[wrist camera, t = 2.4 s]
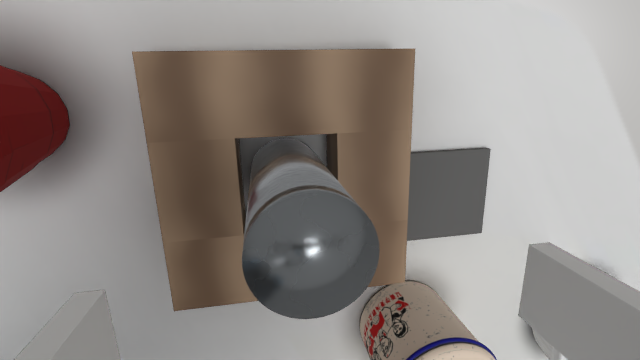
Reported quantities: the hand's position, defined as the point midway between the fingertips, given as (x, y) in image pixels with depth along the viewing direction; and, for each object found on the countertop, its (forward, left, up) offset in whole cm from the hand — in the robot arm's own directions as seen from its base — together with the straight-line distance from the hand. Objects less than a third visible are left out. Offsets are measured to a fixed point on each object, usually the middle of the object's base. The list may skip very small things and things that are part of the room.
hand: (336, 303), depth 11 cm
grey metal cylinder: (0, 0, -18) cm, 18 cm away
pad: (+14, -3, -18) cm, 23 cm away
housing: (0, 0, -18) cm, 18 cm away
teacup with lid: (+10, -17, -19) cm, 27 cm away
